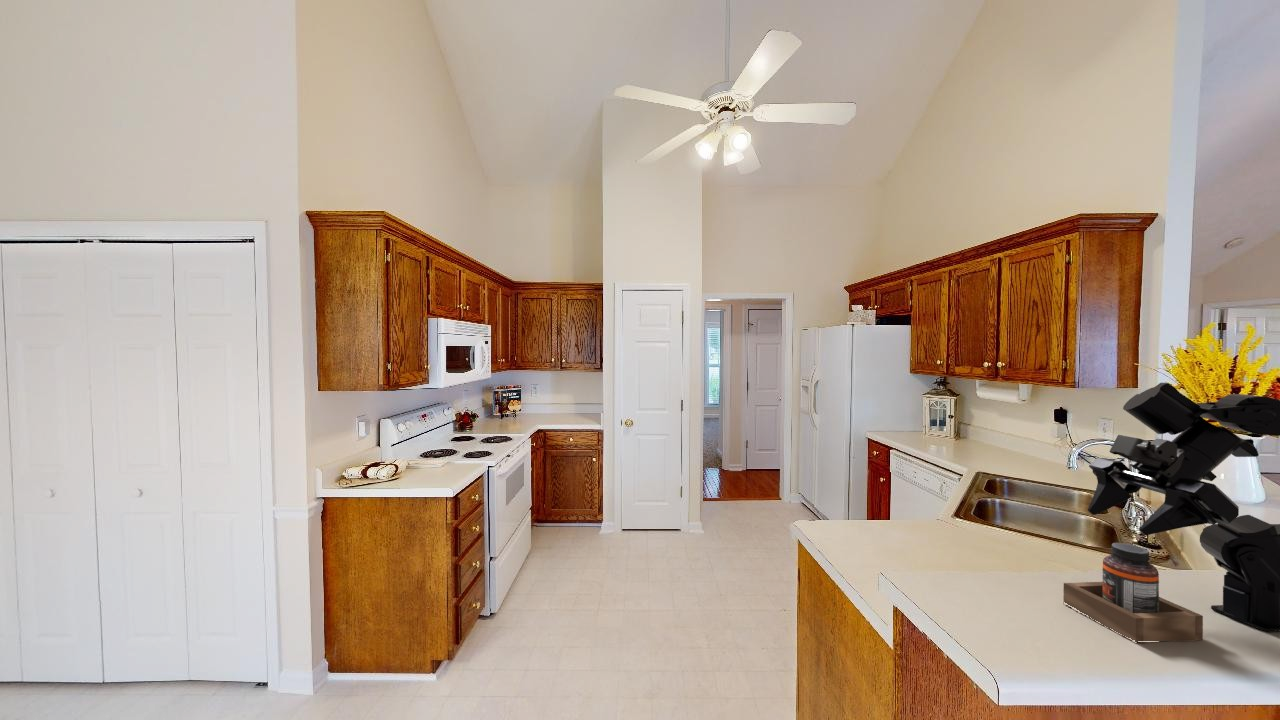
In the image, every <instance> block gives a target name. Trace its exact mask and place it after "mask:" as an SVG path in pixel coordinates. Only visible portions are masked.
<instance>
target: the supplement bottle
mask: <svg viewBox="0 0 1280 720" xmlns="http://www.w3.org/2000/svg"><path fill="white" fill-rule="evenodd" d="M1110 552H1111V554H1110V555H1107V556H1105V557H1103V559H1102V582H1103V593H1102V595H1103V596H1102V598H1103V599H1105V600H1107V601H1109V602H1111V603H1113V604H1115V605H1118V606H1120V607H1122V608H1124V609H1126V610H1128V611H1130V612H1132V613H1158V612H1159V597H1160V591H1159V590H1160V588H1159V587H1160V585H1159V584H1160V579H1159V577H1160V574H1159V570H1158V569H1157V568H1156V567H1155V566H1154V564H1151V563H1150V562H1149V561H1150V560H1151V558H1150V551H1149V550H1148V549H1147V548H1145V547H1141V546H1139V545H1135V544H1131V543H1126V542H1125V543H1124V542H1113V543H1112V544H1111V550H1110Z"/></svg>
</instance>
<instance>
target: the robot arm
mask: <svg viewBox="0 0 1280 720" xmlns="http://www.w3.org/2000/svg"><path fill="white" fill-rule="evenodd" d="M1122 410H1124V411H1125V412H1126V413H1128V414H1130V415H1131V416H1132V417H1133V418H1135V419H1137V420H1138V421H1139V422H1141V423H1142V424H1143V425H1144V426H1146V427H1148V428H1149V429H1150V430H1152V431H1153V432H1155V433H1156V434H1158V435H1164V434H1167V433H1168V434H1169V435H1171V436H1173V435H1174V436H1175V435H1177V436H1175V438H1174V439H1172V440H1169V439H1163V438H1155V439H1154V440H1152V441H1151V440H1146V439H1142V438H1140V437H1132V436H1128V435H1122V434H1118V435H1117V436H1116V437H1115V440H1114V442H1113V444H1112V445H1111V448H1110V450H1109V453H1111V454H1112V455H1116V456H1117V455H1118V456H1120V457H1123V458H1124V459H1127V460H1129V461H1130V462H1129V463H1128V464H1129V465H1130V466H1131V467H1132V468H1133V469H1135V470H1137V471H1138V472H1137V473H1135V472H1133V471H1132V469H1130V468H1129V467H1128V466H1127V465H1125V463H1124V462H1122V461H1119V460H1116V459H1115V460H1114V459H1110V458H1105V457H1097V458H1095V459H1094V460H1093V461H1092V462H1091V463H1090V464H1089V465H1088V466H1089V468H1090V469H1091V470H1092V473H1093V474H1094V476H1095V477H1096V480H1097V484H1096V488H1095V490H1094V494H1093V495H1092V496H1093V497H1092V498H1091V501H1090V503H1089V505H1088V508H1087V512H1088V513H1090V515H1093V516H1095V515H1098V514H1100V513H1102V512H1105V511H1107V510H1109V509H1112V508H1113V507H1115V506H1117V505H1119V504H1121V503H1123V502H1126V501H1128V500H1130V499H1132V498H1133V496H1132V495H1131V494H1135V493H1137V492H1139V491H1140V490H1141V489H1145V490H1149V491H1153V492H1156V493H1158V494H1161V495H1162V494H1163V495H1164V502H1163V503H1162V504H1161V505H1160V506H1159V507H1158V508H1157V509H1156V510H1155V511H1154V512H1153V513H1151V515H1150V516H1149V517H1148V518H1147V519H1146V520H1145V521H1144V522H1143V524H1142V525H1141V526H1140V527H1139V528H1138V530H1139V532H1140V533H1141V534H1142V535H1144V536H1150V535H1155V534H1158V533H1163V532H1168V531H1173V530H1178V529H1183V528H1188V527H1189V528H1190V527H1194V526H1200V525H1207V524H1209V525H1207V526H1205V527H1204V528H1202V532H1201V533H1200V535H1199V543H1200V546H1201V547H1202V549H1203V550H1204V551H1205V552H1206V554H1207V553H1208V554H1209V555H1210V556H1212V557H1213V559H1214V561H1215V563H1216V565H1217V566H1218V567H1219V568H1222V569H1224V570H1225V572H1226V573H1225V574H1223V586H1222V604H1218V605H1213V604H1212V605H1210V609H1211V610H1213V611H1214V612H1218V613H1220V614H1222V615H1224V616H1227V617H1229V618H1232V619H1234V620H1237V621H1238V622H1242V623H1244V624H1247V625H1249V626H1251V627H1254V628H1257V629H1258V630H1261V631H1262V632H1263V631H1264V632H1269V633H1270V632H1272V633H1273V632H1280V523H1273V524H1272V523H1268V522H1266V521H1264V520H1262V519H1260V518H1258V517H1254V516H1253V515H1251V514H1244V515H1243V514H1242V515H1240V514H1239V509H1240V508H1239V506H1238V504H1236V503H1235V502H1234V501H1233V500H1232V499H1231V498H1230V497H1229V496H1228V495H1227V494H1226V493H1224V492H1223V491H1222V490H1221V489H1220V488H1219V487H1218V486H1217V485H1216V484H1214V483H1210V482H1214V480H1215V479H1216V478H1217V475H1216V474H1215V473H1213V472H1212V471H1214V470H1215V469H1216V468H1217V467H1218V466H1220V464H1222V463H1223V462H1224V461H1226V460H1227V458H1228V457H1230V456H1231V455H1232V456H1234V457H1236V458H1257V457H1259V451H1258V449H1257V447H1256V446H1255V444H1254V440H1253V439H1252V438H1250V439H1249V438H1246V439H1244V438H1242V437H1240V436H1238V435H1237V434H1235V432H1233V431H1231V430H1235V431H1240V432H1245V433H1249V434H1254V435H1259V436H1260V435H1261V436H1263V435H1264V436H1278V437H1280V399H1277V398H1275V397H1274V398H1273V397H1270V396H1269V397H1268V396H1263V395H1252V394H1244V393H1243V394H1242V393H1241V394H1240V393H1239V394H1238V393H1232V394H1227V395H1225V396H1222V397H1221V398H1219V399H1218V400H1217V401H1212V402H1197V403H1196V402H1194V401H1193V400H1191V399H1190V398H1189V397H1187V396H1186V395H1184V394H1183V393H1181V392H1180V391H1179V390H1178V389H1177V387H1175V386H1173V385H1172V384H1171V383H1169V382H1160V383H1158V384H1157V385H1155V386H1153V387H1150V388H1148V389H1145V390H1144V391H1142V392H1141V393H1136V394H1135V395H1133V396H1131V398H1129V400H1128V401H1126V403H1124V405H1123V406H1122ZM1208 420H1212V421H1215V422H1217V423H1219V425H1220V426H1219V425H1218V426H1217V425H1215V424H1212V423H1211V422H1210V421H1208ZM1202 480H1205V481H1202ZM1206 481H1209V482H1206Z"/></svg>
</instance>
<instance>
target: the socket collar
mask: <svg viewBox="0 0 1280 720" xmlns="http://www.w3.org/2000/svg"><path fill="white" fill-rule="evenodd" d="M1102 593H1103V581H1089V582H1088V581H1086V582H1085V581H1082V582H1063V603H1064V602H1065V603H1067V604H1068V605H1070V606H1072V607H1074V608H1076V609H1077V610H1079V611H1080V612H1082V613H1084V614H1086V615H1088V616H1089V617H1091V618H1092V619H1094V620H1096V621H1098V622H1100V623H1101V624H1103V625H1105V626H1106V627H1108V628H1111V629H1113V630H1114V631H1116V632H1118V633H1120V634H1122V635H1124V636H1126V637H1128V638H1131V639H1132V640H1135V642H1138V641H1174V642H1188V641H1189V642H1191V641H1192V642H1193V641H1203V640H1204V637H1203V635H1204V632H1203V631H1204V630H1203V629H1204V623H1203V622H1204V621H1203V620H1204V616H1203V614H1200V613H1197V612H1195V611H1194V610H1190V609H1188V608H1186V607H1184V606H1182V605H1179V604H1176V603H1174V602H1172V601H1170V600H1167V599H1165V598H1163V597H1161V596H1159V612H1158V613H1132V612H1130V611H1128V610H1126V609H1124V608H1122V607H1120V606H1118V605H1115V604H1113V603H1111V602H1109V601H1107V600H1105V599H1103V598H1102V596H1103V595H1102ZM1101 624H1100V625H1101ZM1103 625H1102V626H1103ZM1106 627H1105V628H1106ZM1108 628H1107V629H1108ZM1114 631H1113V632H1114ZM1116 632H1115V633H1116Z"/></svg>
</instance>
